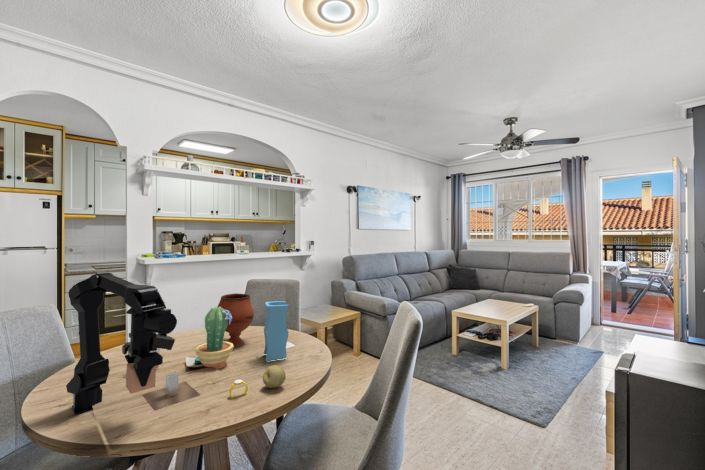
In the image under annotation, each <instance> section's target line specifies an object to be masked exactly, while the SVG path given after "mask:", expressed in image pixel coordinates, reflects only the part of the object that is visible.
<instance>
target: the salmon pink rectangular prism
mask: <svg viewBox="0 0 705 470" xmlns="http://www.w3.org/2000/svg"><path fill="white" fill-rule="evenodd" d="M133 365H134V363H130V364H128V363H127V364H126V373H125V375H126V377H125V388H126V389H127V390H128V392H129V393H130V394H131V395H133V394H135V393H139V392H142V391H145V390H150V389H152V388H156V377H157V376H156V375H157V373H156V372H157V369H156V366H154V367H153V368H152V370H151V373H150V375H149V378H148V381H147V384H146V386H143V387H142V386H141V384H140V382H139V380H138V377H137V375H136V373H135V370H134V368H133Z"/></svg>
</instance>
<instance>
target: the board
mask: <svg viewBox="0 0 705 470" xmlns="http://www.w3.org/2000/svg"><path fill="white" fill-rule="evenodd" d="M141 395H142V397H143V398H144V399H145V400H146V402H147V404H149V406H150V407H151V409H153V411H157V410H160V409H164V408H167V407H170V406H172V405H176V404H179V403H181V402H185V401H186V400H187V401H188V400H190V399H194V398H196V397H200V396H201V394H200V393H199V391H197V390H196V389H195V388H194V387H192V386H191V385H190V384H189V383H188V382H187V381H183V382H180V383H179V382H178V395H176V396H172V397H169V398H168V397H167V396H166V395H165V387H163V388H159V389H157V390H153V391H150V392H146V393H143V394H141Z"/></svg>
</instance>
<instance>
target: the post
mask: <svg viewBox="0 0 705 470" xmlns="http://www.w3.org/2000/svg"><path fill="white" fill-rule="evenodd" d="M178 384H179V373H178V372H177V371H172V372H169V373H166V374H165V387H164V388H165V395H166V396H167V397H168V398H169V397H172V396H176V395H178Z"/></svg>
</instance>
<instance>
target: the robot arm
mask: <svg viewBox="0 0 705 470" xmlns="http://www.w3.org/2000/svg"><path fill="white" fill-rule="evenodd" d="M106 292H109V293H111V294H114V295H116V296H117V297H121V298H122V299H123V302H124V303H125V305H127V306H128V307H130V308H129V309H128V310H126V312H125V314H126V315H127V314H128V315H131V316H130V332H129V333H128V338H130V339H129V341H127V342H125V343H124V344H123V345H122V348H121V349H122V350H121V353H122V354H123V355H124V358H125V361H126V363H127V364H130V363H134V365H133V368H134V370H135V373H136V375H137V377H138V380H139V382H140V384H141V386H142V387H143V386H146V384H147V381H148V378H149V375H150V373H151V370H152V368H153V367H154V366H157V365H159V366H160V365H163V363H164V362H163V361H164V357H163V355H161V354H160V352H159V353H157V352H156V350H157V348H160V349H162V350H163V349H164V350H167V351H172V349H173V346H174V343H175V342H176V339H175V338H173V337H172V336H170V335H168V334H171V333H172V332H173V331H174V330H175V329H176V327H177V325H178V323H177V322H178V319H177V317H176V315H175V314H174V313H172V309H170V308H167V306H166V304H165V303H166V302H165V301H164V299H163V298H162V296H161V294H160V291H158V288H157V287H156V286H154V285H148V284H137V283H136V284H135V283H134V282H132V281H131V282H130V281H128V280H126V279H123V278H121V277H119V276H117V275H114V274H113V273H111V272H99V273H94V274H92V275H90V277H88V278H85V279H84V280H81V281H79V282H76V284H74V285H72V287H70V289H68V292H67V293H68V298H69V302H70V305H71V306H72V308H73V309H74V310H75V311H76V312H77V315H78V316H77V319H78V333H79V334H78V335H79V336H78V337H79V355H80V357H79V360H78V362H77V363H76V365H75V367H74V368H73V369H74V370H73V376H72V378H71V379H70V381H68V383H67V384H66V385H65V386H66V392H67V393H69V394H72V395H73V397H72V405H71V408H72V412H73V414H74V415H77V414H81V413H84V412H88V411H91V410H93V409H94V408H93V406H95V405H97V404H100V403H102V402H103V389H102V387H101V386H102V385H104V384H105V385H106V383H107V381H108V377H109V374H110V371H111V368H110V360H109V359H108V358H105V357H104V356H103V354H101V340H100V338H101V337H100V324H99V308H100V307H101V306H102V304H103V302H104V297H105V294H106ZM150 351H155V352H151V353H150Z"/></svg>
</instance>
